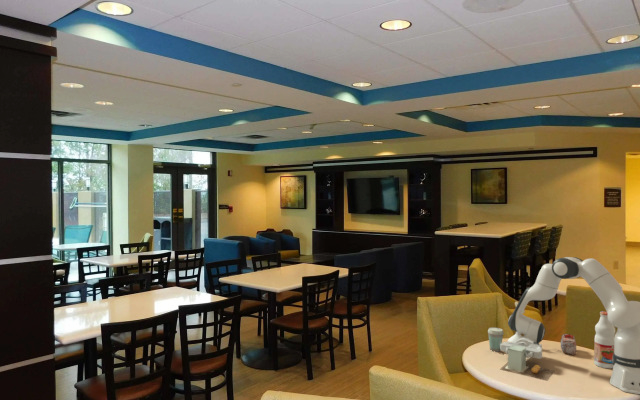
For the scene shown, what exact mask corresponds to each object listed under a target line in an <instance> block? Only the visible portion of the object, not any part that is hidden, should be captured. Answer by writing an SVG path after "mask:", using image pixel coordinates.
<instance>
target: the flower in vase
mask: <svg viewBox="0 0 640 400" xmlns="http://www.w3.org/2000/svg"><path fill="white" fill-rule="evenodd" d="M518 302H519V301H515V302H514V305H515V307H516V306H517V304H518ZM525 313H526V309H524V311H523V313H522V314H525ZM523 336H524V335H522V333H520V332H516V331H515V333H514V335H512V336H511V337H509V338H508V339H507V342H512V343H516V342H517V341H518V340H519V339H520V338H522V337H523Z"/></svg>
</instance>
